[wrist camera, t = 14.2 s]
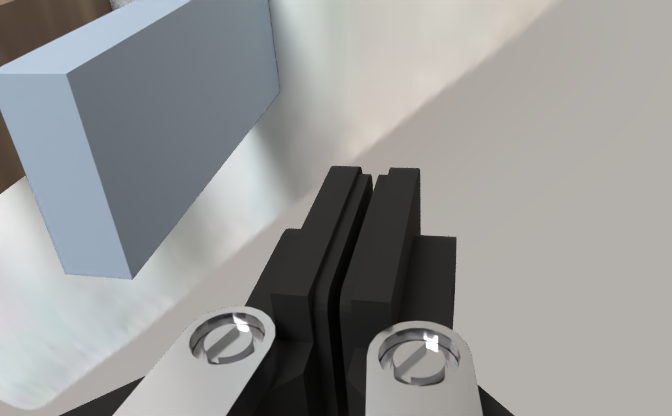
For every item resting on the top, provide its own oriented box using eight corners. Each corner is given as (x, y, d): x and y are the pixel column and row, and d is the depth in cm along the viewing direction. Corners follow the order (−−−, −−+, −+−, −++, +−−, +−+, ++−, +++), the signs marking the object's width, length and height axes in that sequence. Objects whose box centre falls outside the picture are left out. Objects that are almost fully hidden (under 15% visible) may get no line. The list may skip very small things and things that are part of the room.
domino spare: (237, 91, 24) (65, 273, 14) (215, -40, 22) (-14, 73, 12) (279, 91, 24) (132, 279, 14) (262, -42, 21) (65, 73, 11)
